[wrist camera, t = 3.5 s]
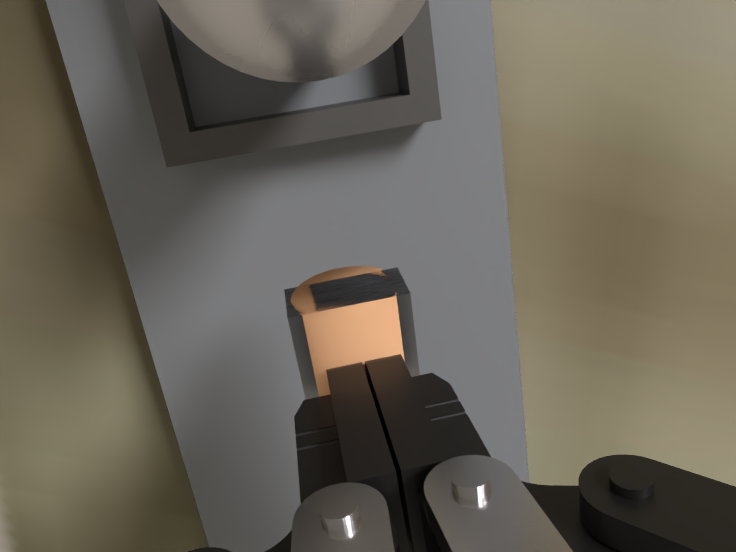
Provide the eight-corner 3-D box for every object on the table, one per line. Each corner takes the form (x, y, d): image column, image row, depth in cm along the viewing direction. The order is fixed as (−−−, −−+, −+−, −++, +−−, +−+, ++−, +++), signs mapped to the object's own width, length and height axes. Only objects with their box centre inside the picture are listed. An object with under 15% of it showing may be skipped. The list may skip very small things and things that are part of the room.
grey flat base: (-44, -360, 15) (-390, -837, 7) (438, -406, 16) (602, -863, 8) (233, 591, 25) (218, 835, 17) (520, 523, 26) (630, 721, 18)
